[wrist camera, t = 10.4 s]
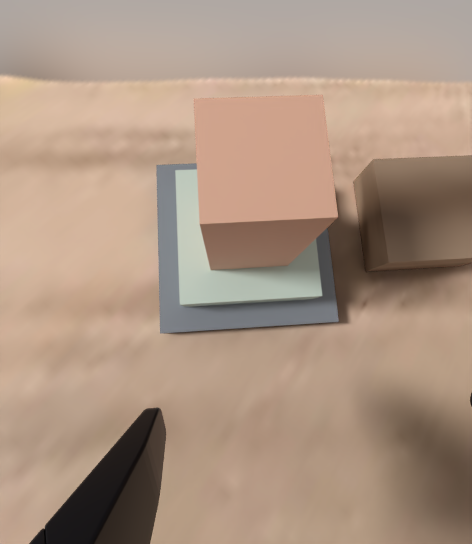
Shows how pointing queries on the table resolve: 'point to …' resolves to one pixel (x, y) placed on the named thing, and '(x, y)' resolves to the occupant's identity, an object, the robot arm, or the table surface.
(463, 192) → the walnut stand
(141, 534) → the robot arm
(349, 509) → the table surface
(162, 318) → the baseplate
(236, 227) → the terracotta brick
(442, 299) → the table surface
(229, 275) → the foundation slab
